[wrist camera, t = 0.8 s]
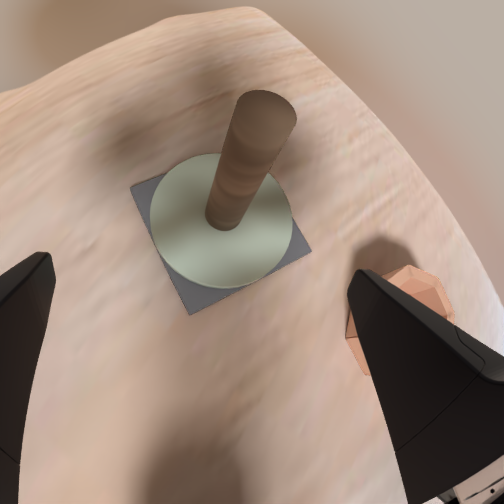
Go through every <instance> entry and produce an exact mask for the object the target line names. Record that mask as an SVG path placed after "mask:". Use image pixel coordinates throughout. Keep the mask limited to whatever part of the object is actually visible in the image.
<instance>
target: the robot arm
mask: <svg viewBox="0 0 504 504" xmlns="http://www.w3.org/2000/svg"><path fill="white" fill-rule="evenodd" d="M55 284H56V276H55V271H54V267H53V262H52V257H51V255H50V253H48V252H35V253H34V254H32V255H31V256H29V257H28V258H26V259H25V260H23V261H21V262H20V263H18V264H17V265H15V266H14V267H12V268H11V269H9V270H8V271H6V272H5V273H3V274H2V275H1V276H0V504H18V492H19V474H20V460H21V450H22V442H23V434H24V427H25V421H26V415H27V409H28V403H29V398H30V393H31V388H32V384H33V379H34V375H35V370H36V366H37V362H38V358H39V354H40V350H41V347H42V343H43V339H44V336H45V332H46V328H47V323H48V317H49V312H50V307H51V302H52V298H53V293H54V289H55ZM347 297H348V301H349V305H350V309H351V313H352V316H353V320H354V324H355V328H356V332H357V336H358V339H359V342H360V345H361V348H362V351H363V354H364V356H365V359H366V362H367V365H368V368H369V371H370V374H371V377H372V380H373V383H374V386H375V389H376V392H377V395H378V398H379V401H380V404H381V408H382V411H383V414H384V417H385V421H386V424H387V427H388V430H389V434H390V437H391V441H392V444H393V448H394V451H395V455H396V459H397V462H398V466H399V470H400V474H401V477H402V481H403V485H404V489H405V493H406V497H407V501H408V504H423V503H425V502H427V501H429V500H431V499H433V498H435V497H437V496H438V495H440V494H442V493H444V492H446V491H448V490H450V489H451V488H453V489H454V491H455V494H456V496H455V497H454V498H452V499H451V500H449V501H447V502H446V503H444V504H504V356H502V355H500V354H499V353H497V352H496V351H494V350H492V349H491V348H489V347H488V346H486V345H484V344H483V343H481V342H480V341H478V340H477V339H475V338H473V337H472V336H470V335H469V334H467V333H466V332H464V331H463V330H462V329H460V328H459V327H457V326H456V325H453V323H451V322H450V321H448V320H447V319H445V318H444V317H442V316H441V315H439V314H438V313H436V312H435V311H433V310H432V309H430V308H429V307H427V306H426V305H424V304H423V303H421V302H420V301H418V300H417V299H415V298H414V297H412V296H411V295H409V294H407V293H406V292H404V291H403V290H401V289H400V288H398V287H397V286H395V285H393V284H392V283H390V282H389V281H387V280H386V279H384V278H382V277H381V276H379V275H378V274H376V273H375V272H373V271H371V270H369V269H358V270H357V271H356V272H355V274H354V276H353V279H352V281H351V283H350V285H349V288H348V291H347Z"/></svg>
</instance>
